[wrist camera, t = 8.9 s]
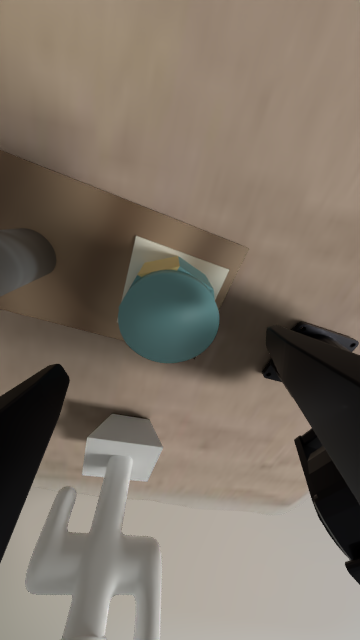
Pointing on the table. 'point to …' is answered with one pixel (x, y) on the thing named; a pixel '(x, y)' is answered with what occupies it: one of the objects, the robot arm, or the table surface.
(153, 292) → the cap
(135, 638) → the figurine
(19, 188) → the board
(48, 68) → the table surface
